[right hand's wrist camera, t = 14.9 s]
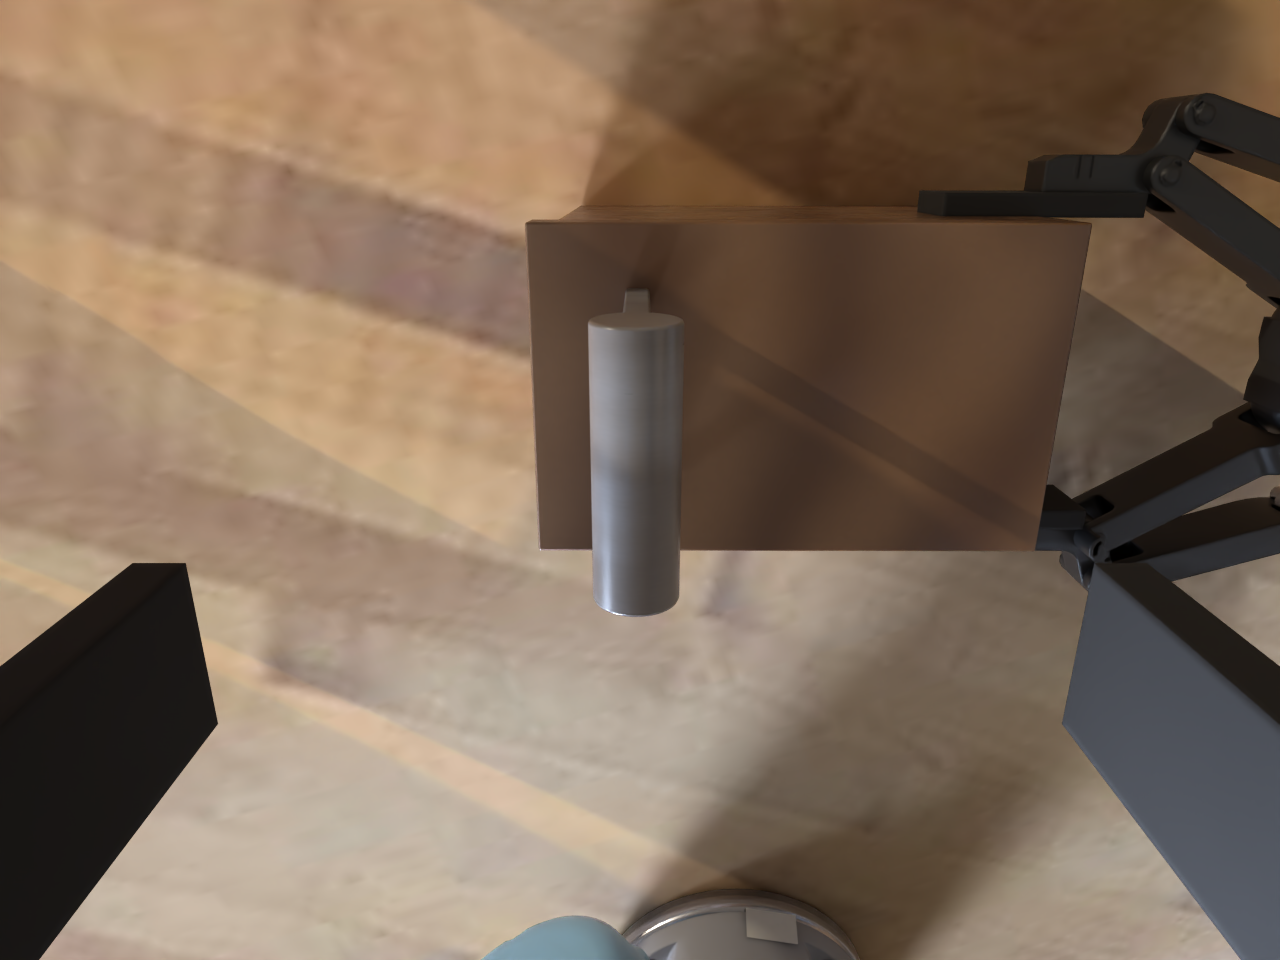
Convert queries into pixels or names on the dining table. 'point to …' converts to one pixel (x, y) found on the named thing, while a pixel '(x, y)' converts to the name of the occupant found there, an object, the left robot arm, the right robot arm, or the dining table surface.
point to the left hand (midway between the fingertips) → (912, 364)
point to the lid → (793, 387)
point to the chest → (771, 213)
